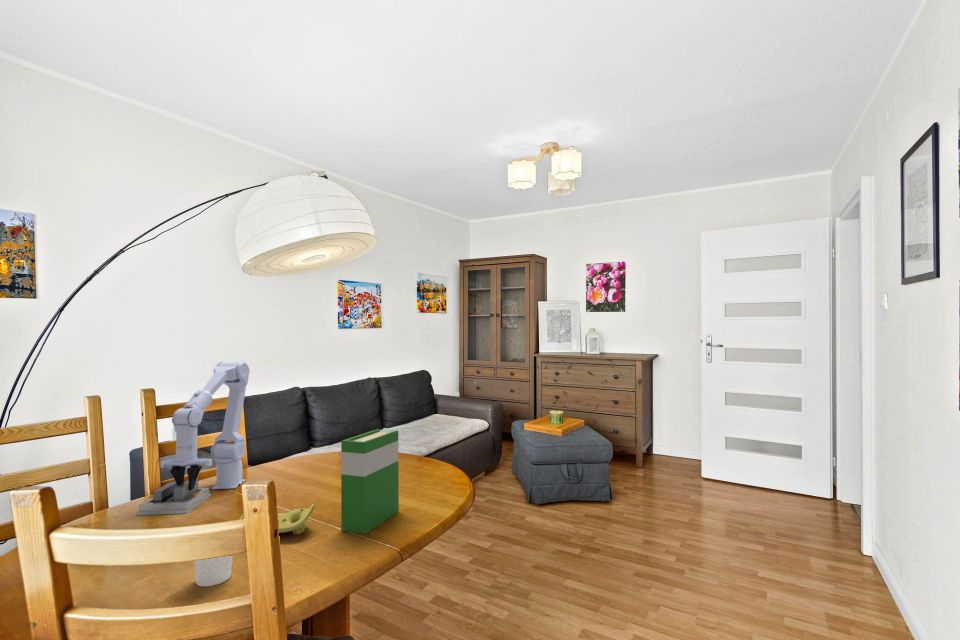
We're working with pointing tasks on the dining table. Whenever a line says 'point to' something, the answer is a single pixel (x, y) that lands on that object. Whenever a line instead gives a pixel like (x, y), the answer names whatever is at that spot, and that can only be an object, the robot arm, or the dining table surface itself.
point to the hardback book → (369, 480)
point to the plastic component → (293, 520)
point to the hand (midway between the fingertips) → (186, 489)
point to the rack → (171, 501)
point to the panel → (184, 491)
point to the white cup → (212, 570)
